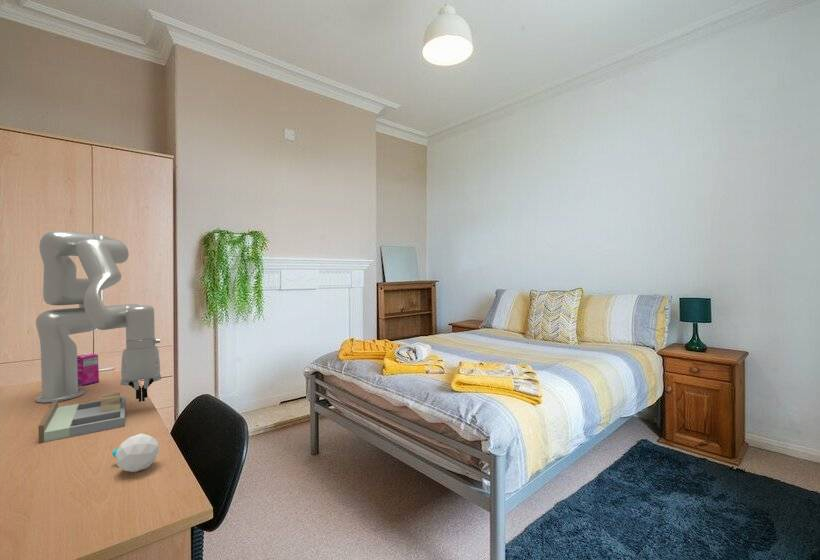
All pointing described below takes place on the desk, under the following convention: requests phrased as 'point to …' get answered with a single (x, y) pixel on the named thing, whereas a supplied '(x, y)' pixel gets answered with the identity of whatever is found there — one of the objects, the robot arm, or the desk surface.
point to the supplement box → (87, 369)
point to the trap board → (79, 420)
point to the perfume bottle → (136, 453)
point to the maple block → (110, 402)
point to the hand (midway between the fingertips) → (141, 400)
